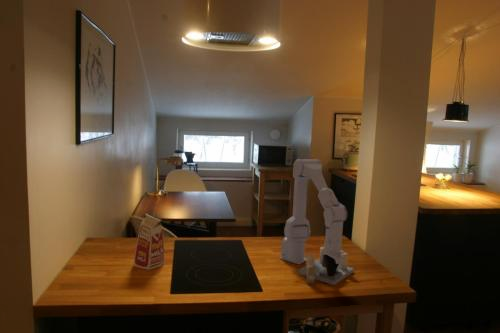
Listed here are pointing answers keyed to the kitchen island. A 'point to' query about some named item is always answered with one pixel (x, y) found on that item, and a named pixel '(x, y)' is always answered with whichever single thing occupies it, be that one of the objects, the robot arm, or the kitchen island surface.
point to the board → (321, 266)
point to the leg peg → (310, 274)
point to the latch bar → (336, 269)
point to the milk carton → (149, 244)
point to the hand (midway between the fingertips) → (330, 275)
